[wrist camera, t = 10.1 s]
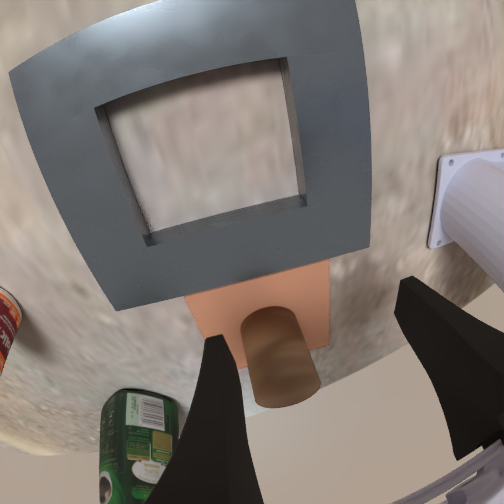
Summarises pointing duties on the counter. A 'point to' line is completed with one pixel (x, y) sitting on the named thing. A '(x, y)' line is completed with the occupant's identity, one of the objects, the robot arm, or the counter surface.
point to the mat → (267, 305)
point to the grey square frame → (183, 64)
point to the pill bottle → (7, 324)
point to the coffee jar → (135, 445)
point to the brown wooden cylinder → (278, 358)
